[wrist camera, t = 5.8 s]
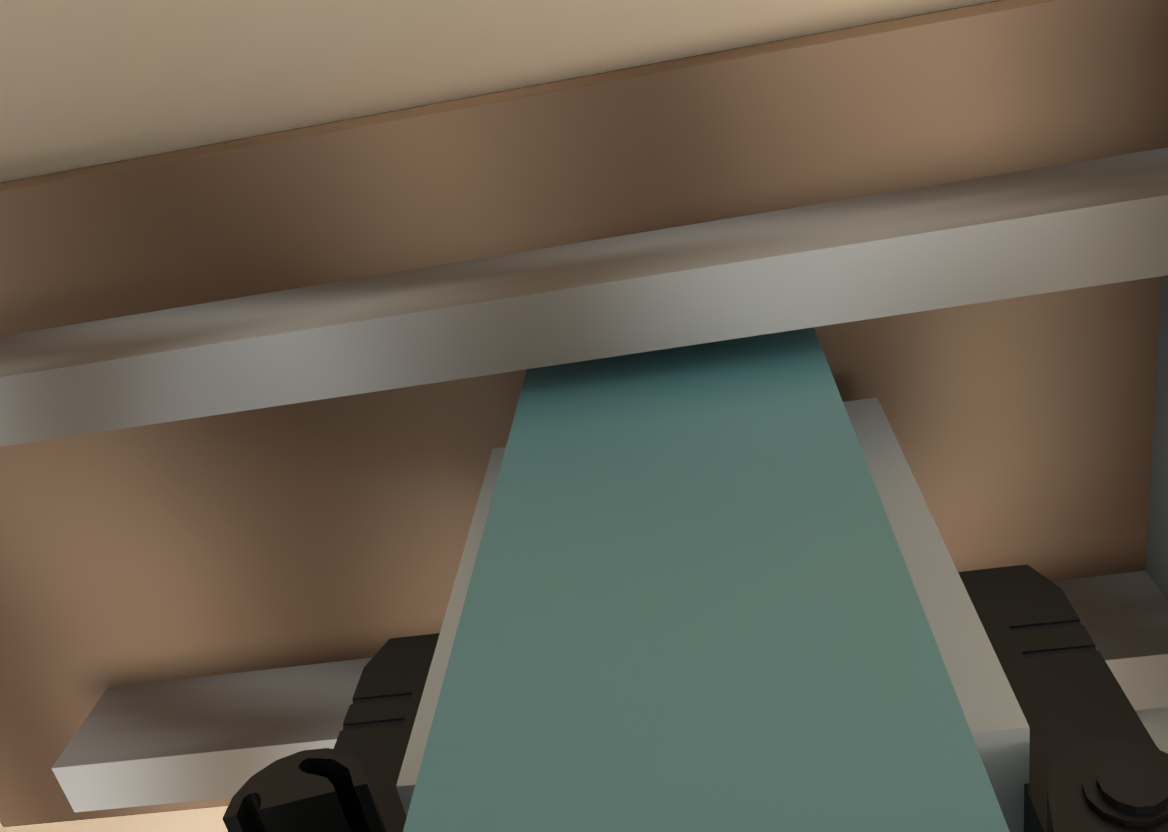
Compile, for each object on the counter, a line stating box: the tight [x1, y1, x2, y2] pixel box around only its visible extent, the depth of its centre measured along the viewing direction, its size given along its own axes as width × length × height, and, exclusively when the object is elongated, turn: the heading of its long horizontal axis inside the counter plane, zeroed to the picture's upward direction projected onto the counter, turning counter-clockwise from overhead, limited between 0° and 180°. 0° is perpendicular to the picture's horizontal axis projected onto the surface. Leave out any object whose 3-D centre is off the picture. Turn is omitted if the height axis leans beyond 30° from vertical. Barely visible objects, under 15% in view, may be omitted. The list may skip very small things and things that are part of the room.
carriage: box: [403, 327, 1010, 832], centre depth 11 cm, size 4×5×11 cm
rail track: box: [0, 0, 1168, 827], centre depth 16 cm, size 28×12×3 cm, turn 100°
